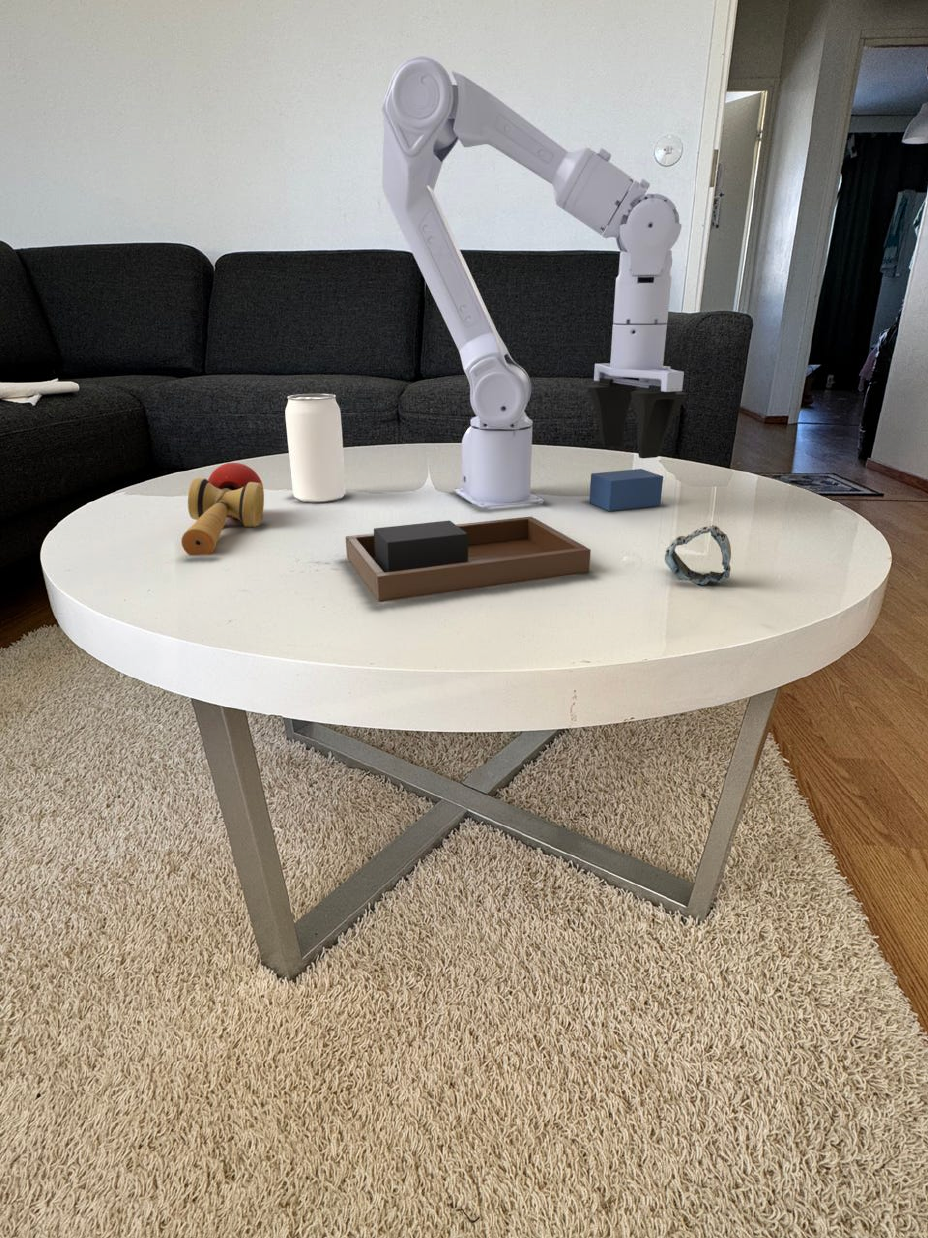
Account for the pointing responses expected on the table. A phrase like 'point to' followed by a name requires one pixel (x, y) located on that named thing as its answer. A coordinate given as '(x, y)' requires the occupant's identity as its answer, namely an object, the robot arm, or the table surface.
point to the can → (315, 447)
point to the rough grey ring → (686, 574)
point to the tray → (477, 560)
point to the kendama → (222, 505)
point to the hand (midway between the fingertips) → (629, 451)
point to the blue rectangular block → (625, 489)
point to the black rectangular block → (420, 546)
